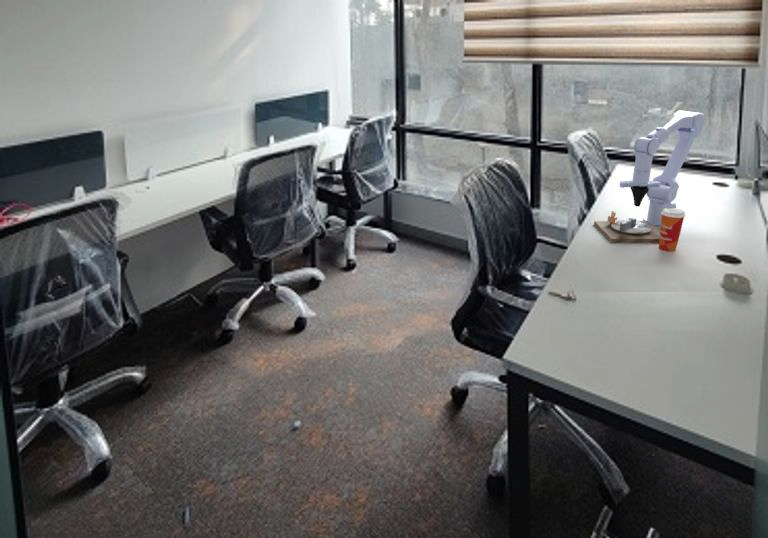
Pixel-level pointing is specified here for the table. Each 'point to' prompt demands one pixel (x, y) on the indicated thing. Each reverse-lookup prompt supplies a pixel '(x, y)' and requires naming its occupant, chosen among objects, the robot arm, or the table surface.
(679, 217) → the paper cup
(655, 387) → the table surface
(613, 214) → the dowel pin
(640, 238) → the base board
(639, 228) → the flange plate
